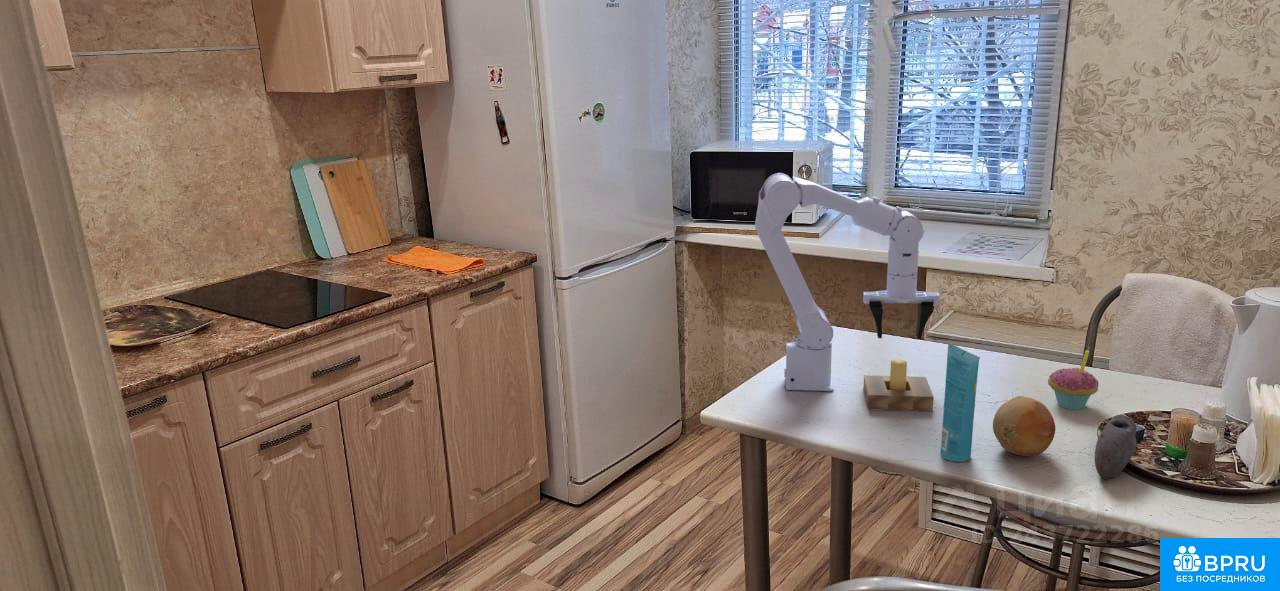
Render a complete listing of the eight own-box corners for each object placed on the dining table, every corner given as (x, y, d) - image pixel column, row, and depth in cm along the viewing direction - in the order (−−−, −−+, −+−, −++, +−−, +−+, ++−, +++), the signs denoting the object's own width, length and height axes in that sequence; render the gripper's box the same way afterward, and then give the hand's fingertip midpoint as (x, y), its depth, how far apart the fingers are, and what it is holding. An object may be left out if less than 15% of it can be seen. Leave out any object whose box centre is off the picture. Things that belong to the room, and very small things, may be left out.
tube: (982, 461, 146) (991, 354, 141) (960, 468, 144) (969, 359, 139) (949, 444, 153) (956, 340, 147) (928, 450, 151) (935, 345, 145)
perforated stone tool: (1117, 491, 136) (1122, 450, 134) (1080, 481, 139) (1085, 441, 137) (1139, 454, 147) (1144, 416, 145) (1105, 446, 150) (1109, 409, 148)
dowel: (889, 402, 170) (891, 364, 168) (888, 396, 173) (890, 359, 171) (905, 403, 170) (907, 365, 167) (904, 397, 172) (906, 359, 170)
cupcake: (1095, 399, 168) (1102, 341, 165) (1096, 417, 161) (1104, 356, 157) (1046, 393, 172) (1052, 336, 168) (1045, 410, 164) (1051, 350, 161)
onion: (982, 456, 148) (986, 402, 145) (1001, 435, 155) (1006, 383, 152) (1042, 472, 142) (1048, 416, 139) (1059, 449, 149) (1065, 395, 146)
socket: (867, 409, 168) (868, 395, 167) (863, 389, 177) (863, 375, 176) (932, 411, 166) (933, 396, 165) (924, 390, 175) (925, 376, 174)
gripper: (866, 277, 170) (863, 343, 174) (943, 278, 168) (939, 344, 172) (863, 268, 177) (861, 331, 181) (937, 268, 175) (933, 332, 179)
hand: (898, 337), depth 177 cm, fingers open, 7 cm apart
